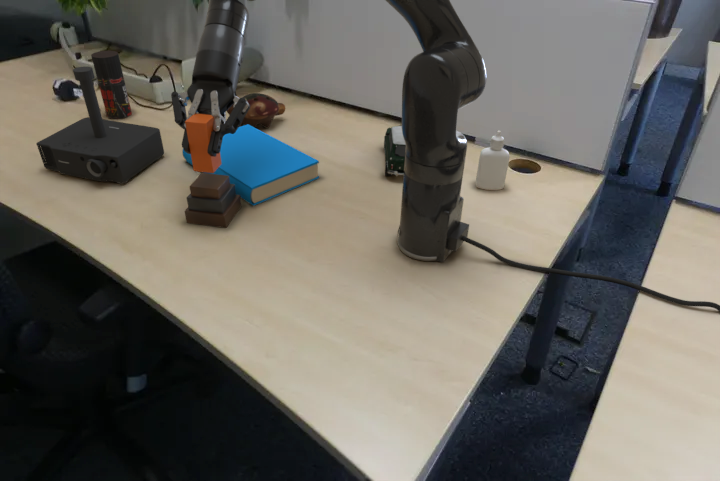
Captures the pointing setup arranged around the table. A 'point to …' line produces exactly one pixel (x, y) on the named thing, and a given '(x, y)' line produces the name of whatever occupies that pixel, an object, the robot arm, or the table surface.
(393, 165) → the miniature car
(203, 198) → the brown stepped pyramid
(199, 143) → the bar
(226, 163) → the book
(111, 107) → the deodorant
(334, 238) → the table surface
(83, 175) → the projector
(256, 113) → the decorative turtle
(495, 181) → the eye dropper bottle
